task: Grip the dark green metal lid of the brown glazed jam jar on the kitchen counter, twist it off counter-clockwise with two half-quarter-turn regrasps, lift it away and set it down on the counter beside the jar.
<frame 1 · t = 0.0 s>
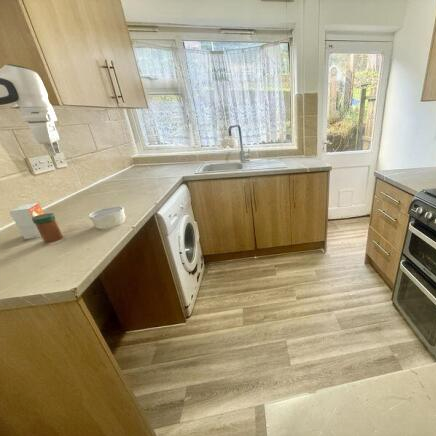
hand: (55, 154, 96), 34 cm above the countertop, tool pointing down, fingers open, 8 cm apart
ramekin: (112, 225, 114), on the countertop
lid: (43, 217, 97), point 11 cm above the countertop, screwed on, not yet turned
small box: (39, 234, 107), on the countertop
jar: (54, 240, 101), on the countertop
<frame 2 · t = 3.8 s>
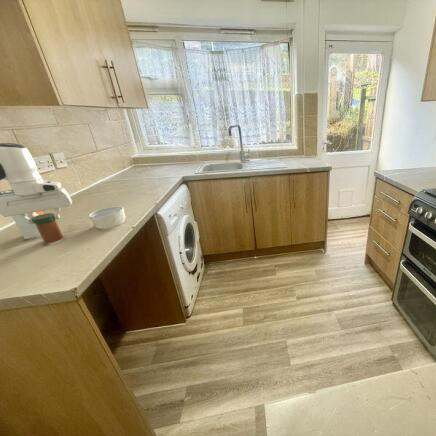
hand: (45, 220, 98), 9 cm above the countertop, tool pointing down, fingers closed on lid, 6 cm apart
lid: (43, 217, 97), point 11 cm above the countertop, screwed on, not yet turned, touching gripper
everything else where it was.
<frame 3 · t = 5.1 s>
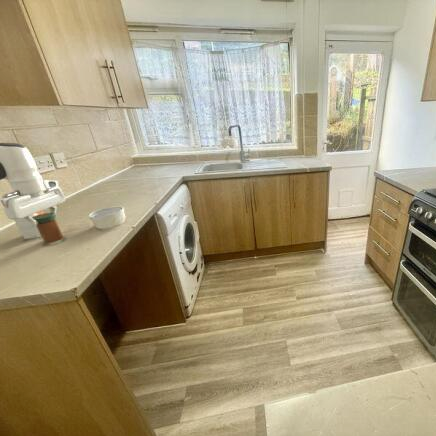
hand: (45, 220, 98), 9 cm above the countertop, tool pointing down, fingers closed on lid, 6 cm apart
lid: (43, 216, 97), point 11 cm above the countertop, turned 55° so far, risen 0.1 cm, still on its thread, touching gripper
everything else where it was.
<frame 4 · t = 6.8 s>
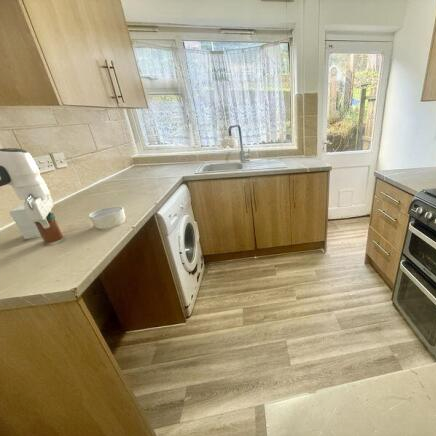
hand: (49, 224, 99), 7 cm above the countertop, tool pointing down, fingers closed on jar, 6 cm apart
lid: (43, 216, 97), point 11 cm above the countertop, turned 90° so far, risen 0.2 cm, still on its thread
jar: (54, 240, 101), on the countertop, touching gripper
everything else where it was.
when the fingers open (7 cm above the countertop, at t = 7.2 s): jar stays where it is, on the countertop.
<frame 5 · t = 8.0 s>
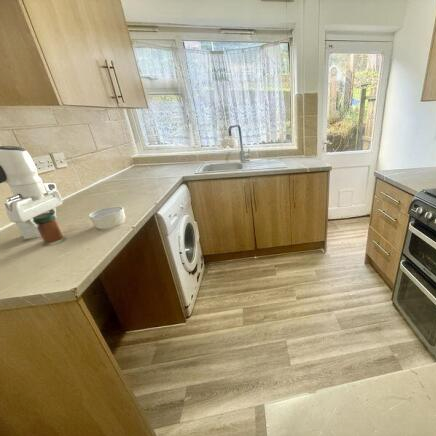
hand: (45, 223, 97), 8 cm above the countertop, tool pointing down, fingers open, 7 cm apart
lid: (43, 216, 97), point 11 cm above the countertop, turned 89° so far, risen 0.2 cm, still on its thread, touching gripper
jar: (54, 240, 101), on the countertop
everything else where it was.
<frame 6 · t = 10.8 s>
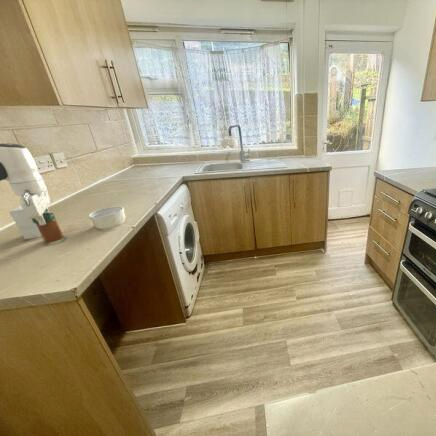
hand: (45, 221, 98), 9 cm above the countertop, tool pointing down, fingers closed on lid, 6 cm apart
lid: (42, 216, 97), point 11 cm above the countertop, off its thread, touching gripper, jar
jar: (54, 240, 101), on the countertop, touching gripper, lid
everything else where it was.
when the fingers open (0 cm above the countertop, at t = 20.1 s): lid stays where it is, point 1 cm above the countertop.
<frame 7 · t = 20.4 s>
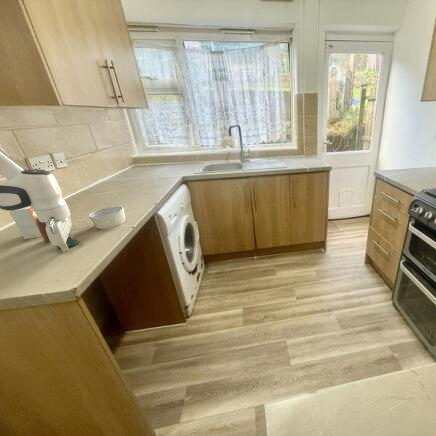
hand: (68, 246, 96), 1 cm above the countertop, tool pointing down, fingers open, 8 cm apart
lid: (68, 244, 95), point 1 cm above the countertop, off its thread
jar: (54, 240, 101), on the countertop
everything else where it was.
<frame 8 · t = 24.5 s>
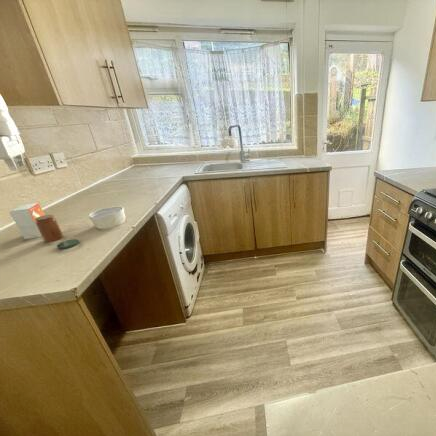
hand: (18, 168, 95), 29 cm above the countertop, tool pointing down, fingers open, 8 cm apart
nothing on the countertop moved.
at the end: lid came off its thread; lid point 1.5 cm above the countertop; the gripper is holding nothing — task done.
